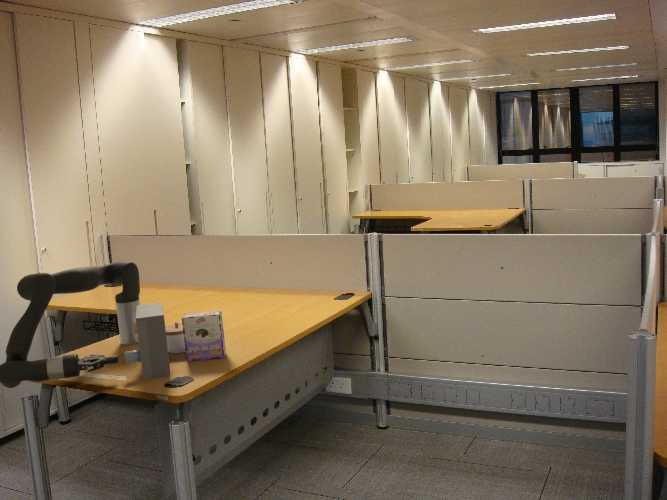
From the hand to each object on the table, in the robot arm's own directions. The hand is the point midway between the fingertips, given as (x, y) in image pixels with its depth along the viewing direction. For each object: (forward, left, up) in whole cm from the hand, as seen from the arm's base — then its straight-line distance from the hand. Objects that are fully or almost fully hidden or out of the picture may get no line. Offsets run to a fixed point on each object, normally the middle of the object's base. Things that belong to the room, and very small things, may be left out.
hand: (118, 359), depth 224 cm
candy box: (-25, +19, -7) cm, 32 cm away
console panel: (-12, +6, -7) cm, 15 cm away
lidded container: (-32, +3, -7) cm, 33 cm away
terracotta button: (-15, +1, +5) cm, 16 cm away
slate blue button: (-3, +5, -2) cm, 6 cm away
